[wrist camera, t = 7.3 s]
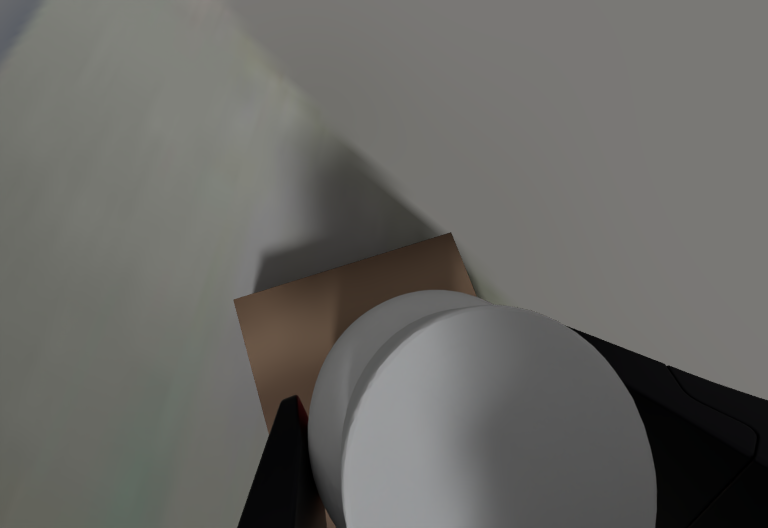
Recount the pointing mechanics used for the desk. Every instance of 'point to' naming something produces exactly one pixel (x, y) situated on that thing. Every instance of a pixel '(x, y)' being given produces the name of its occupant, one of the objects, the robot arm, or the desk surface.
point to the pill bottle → (475, 423)
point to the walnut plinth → (333, 314)
